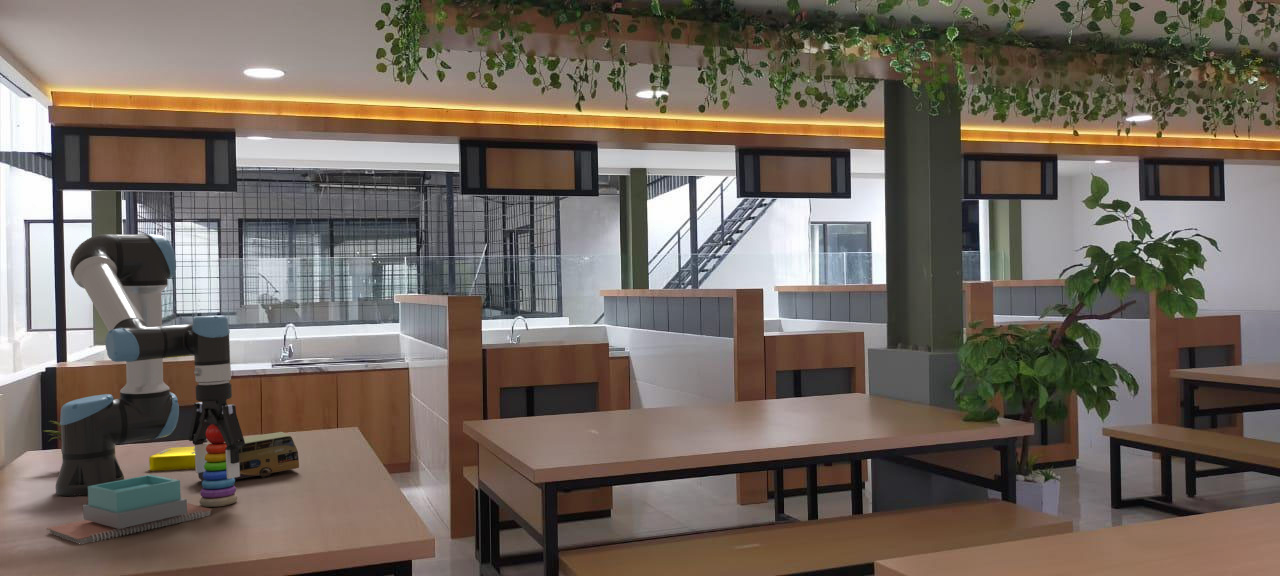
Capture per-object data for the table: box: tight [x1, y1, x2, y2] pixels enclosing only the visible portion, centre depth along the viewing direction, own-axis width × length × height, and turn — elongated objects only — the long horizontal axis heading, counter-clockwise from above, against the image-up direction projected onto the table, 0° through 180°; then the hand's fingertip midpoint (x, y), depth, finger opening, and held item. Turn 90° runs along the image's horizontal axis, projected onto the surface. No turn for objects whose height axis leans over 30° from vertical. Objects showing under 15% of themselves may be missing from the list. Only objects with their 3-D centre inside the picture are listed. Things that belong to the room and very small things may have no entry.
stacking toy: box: [199, 424, 238, 508], centre depth 219 cm, size 8×8×19 cm
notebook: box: [46, 502, 213, 545], centre depth 203 cm, size 27×17×2 cm, turn 141°
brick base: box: [82, 474, 188, 529], centre depth 201 cm, size 16×14×7 cm
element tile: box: [148, 446, 196, 472], centre depth 272 cm, size 15×15×5 cm
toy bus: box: [197, 431, 300, 482], centre depth 250 cm, size 10×23×10 cm, turn 124°
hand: (217, 474), depth 219 cm, fingers open, 13 cm apart
